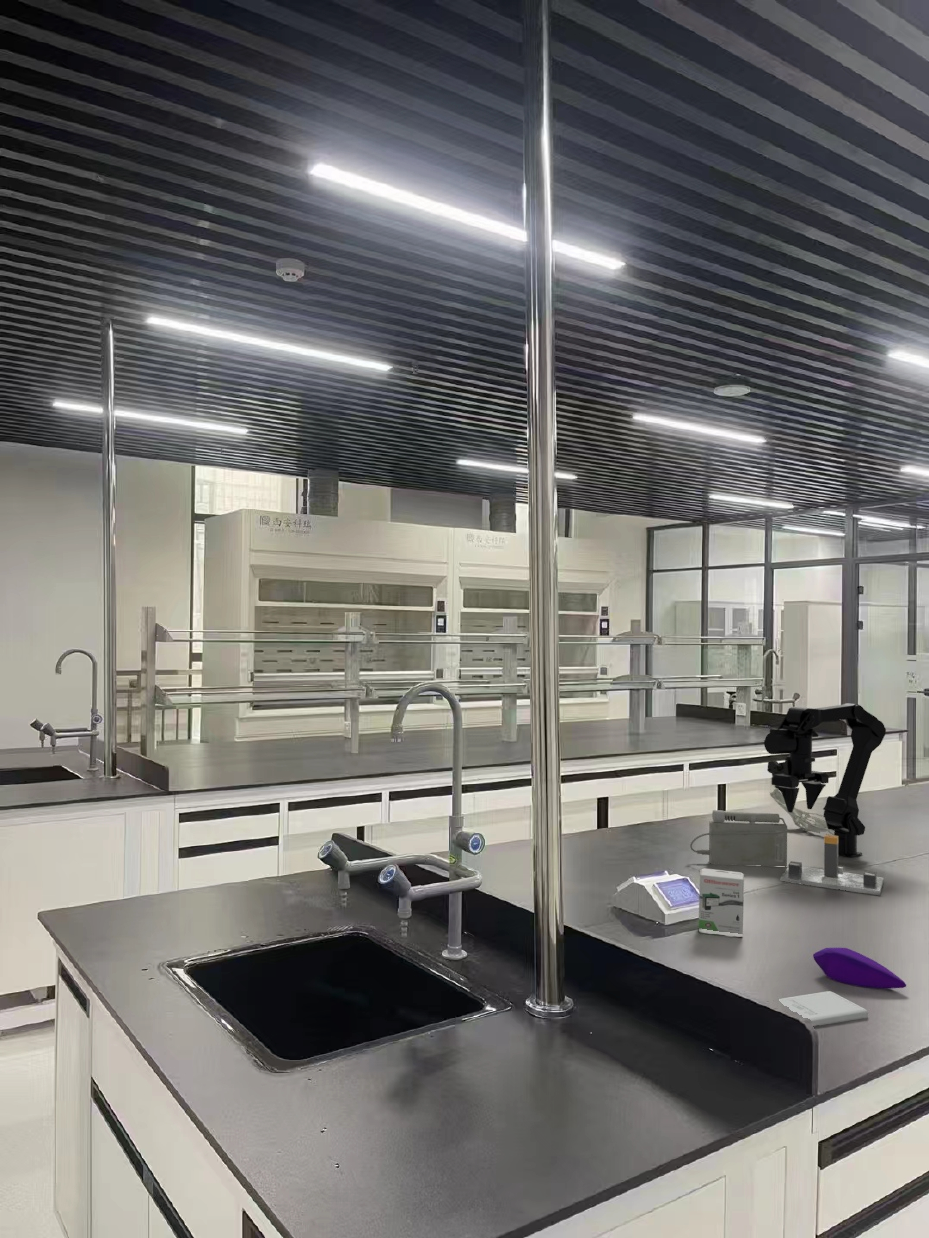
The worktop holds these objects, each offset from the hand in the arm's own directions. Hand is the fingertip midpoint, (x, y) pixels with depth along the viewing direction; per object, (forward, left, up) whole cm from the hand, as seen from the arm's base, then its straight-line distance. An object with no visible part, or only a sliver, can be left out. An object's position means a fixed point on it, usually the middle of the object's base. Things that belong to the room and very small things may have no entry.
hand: (799, 810), depth 234 cm
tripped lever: (+16, +19, -12) cm, 27 cm away
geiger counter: (+20, -5, -13) cm, 24 cm away
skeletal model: (-36, -20, -13) cm, 44 cm away
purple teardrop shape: (+70, +56, -13) cm, 91 cm away
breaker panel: (+14, +18, -13) cm, 26 cm away
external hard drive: (+87, +59, -14) cm, 106 cm away
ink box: (+69, +27, -13) cm, 75 cm away
